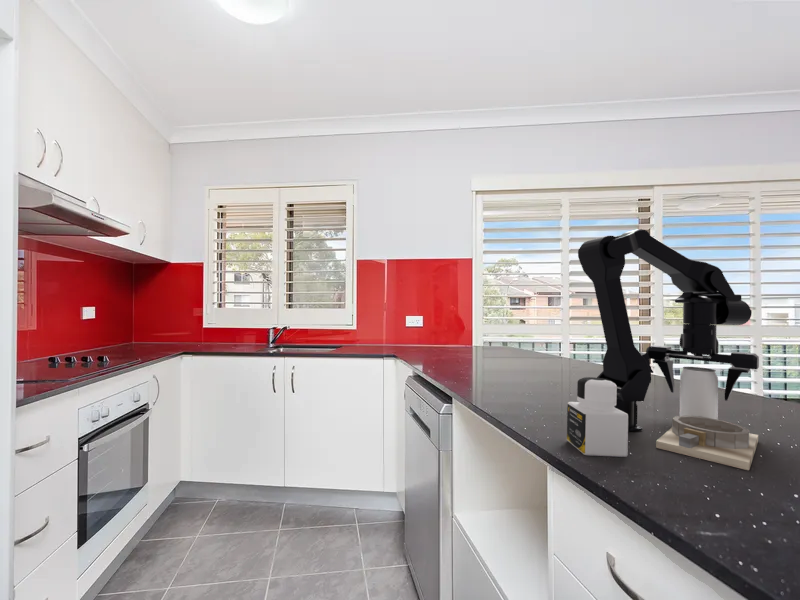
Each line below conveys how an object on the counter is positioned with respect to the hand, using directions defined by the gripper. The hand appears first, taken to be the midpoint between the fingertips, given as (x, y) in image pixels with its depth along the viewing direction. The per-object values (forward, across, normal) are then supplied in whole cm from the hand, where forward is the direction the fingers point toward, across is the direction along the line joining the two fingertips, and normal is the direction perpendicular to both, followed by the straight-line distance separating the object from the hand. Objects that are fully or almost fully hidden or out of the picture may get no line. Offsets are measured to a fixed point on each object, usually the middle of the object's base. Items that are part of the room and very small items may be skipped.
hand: (698, 396), depth 82 cm
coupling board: (+6, -4, +15) cm, 16 cm away
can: (+6, 0, 0) cm, 6 cm away
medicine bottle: (+6, +9, +34) cm, 36 cm away
